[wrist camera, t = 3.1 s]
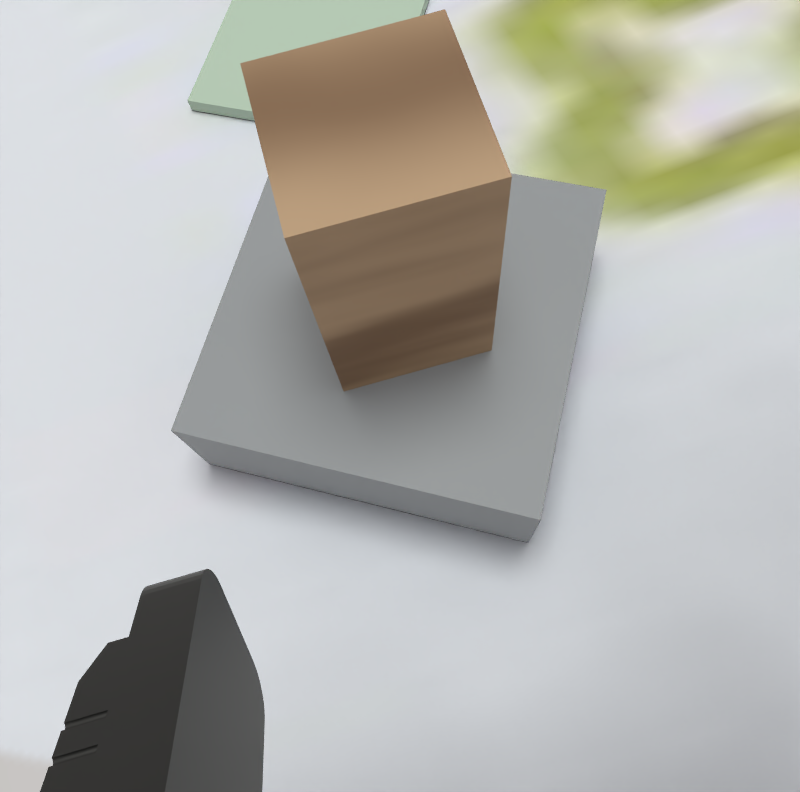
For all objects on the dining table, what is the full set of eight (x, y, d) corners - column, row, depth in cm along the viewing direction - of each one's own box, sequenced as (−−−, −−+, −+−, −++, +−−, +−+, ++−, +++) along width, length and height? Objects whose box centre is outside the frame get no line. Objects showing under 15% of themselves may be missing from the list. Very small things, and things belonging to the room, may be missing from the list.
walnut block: (491, 350, 24) (512, 176, 16) (343, 391, 24) (284, 238, 16) (448, 225, 26) (445, 9, 18) (309, 262, 26) (240, 63, 17)
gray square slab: (587, 250, 30) (606, 189, 26) (527, 542, 26) (540, 520, 22) (304, 198, 32) (284, 134, 28) (209, 463, 28) (171, 430, 24)
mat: (431, -9, 35) (431, -20, 35) (382, 142, 32) (381, 133, 32) (255, -34, 37) (251, -45, 36) (191, 109, 34) (187, 100, 33)
